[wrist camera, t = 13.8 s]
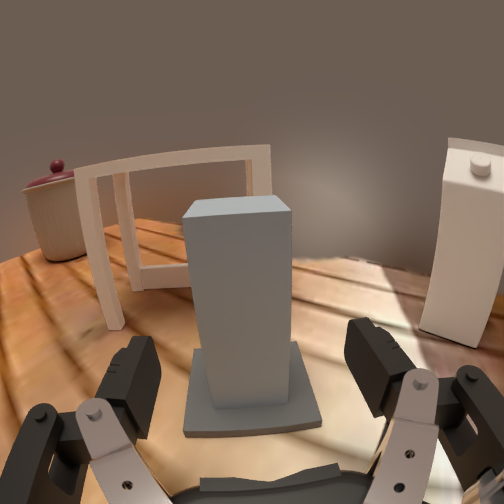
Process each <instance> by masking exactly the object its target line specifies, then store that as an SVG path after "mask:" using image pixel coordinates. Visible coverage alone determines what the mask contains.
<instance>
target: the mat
mask: <svg viewBox="0 0 504 504" xmlns="http://www.w3.org/2000/svg"><path fill="white" fill-rule="evenodd" d="M321 424H322V418H321V414H320V411H319V408H318V405H317V402H316V399H315V396H314V393H313V390H312V387H311V384H310V381H309V378H308V375H307V372H306V368H305V365H304V362H303V359H302V356H301V353H300V350H299V347H298V344H297V341H294V342H290V364H289V386H288V403H287V404H279V405H270V406H259V407H247V408H230V409H214V405H213V401H212V397H211V392H210V387H209V383H208V378H207V373H206V368H205V363H204V358H203V353H202V348H201V349H194V353H193V360H192V366H191V373H190V380H189V387H188V395H187V402H186V410H185V418H184V426H183V432H184V435H185V437H237V436H253V435H264V434H274V433H282V432H290V431H297V430H304V429H310V428H316V427H321Z"/></svg>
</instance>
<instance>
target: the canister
mask: <svg viewBox="0 0 504 504" xmlns="http://www.w3.org/2000/svg"><path fill="white" fill-rule="evenodd" d="M64 165H65V164H64V161H63V160H61V159H56V160H54V161H52V162H51V164H50V170H51V171H52V173H53V174H50V175H46V176H43V177H40V178H37V179H35V180H32V181H30V182H29V183H28V184H27V185H26V186H25V189H24V190H22V192H23V193H24V194H25V197H26V201H27V205H28V209H29V213H30V217H31V220H32V224H33V227H34V230H35V233H36V236H37V239H38V242H39V245H40V248H41V250H42V252H43V254H44V256H45V257H46V258H47V259H49V260H51V261H64V260H69V259H73V258H76V257H79V256H81V255H84V254H85V253H87V251H86V247H85V242H84V237H83V232H82V226H81V221H80V215H79V209H78V202H77V195H76V187H75V178H74V169H73V170H68V171H63V169H64Z"/></svg>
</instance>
